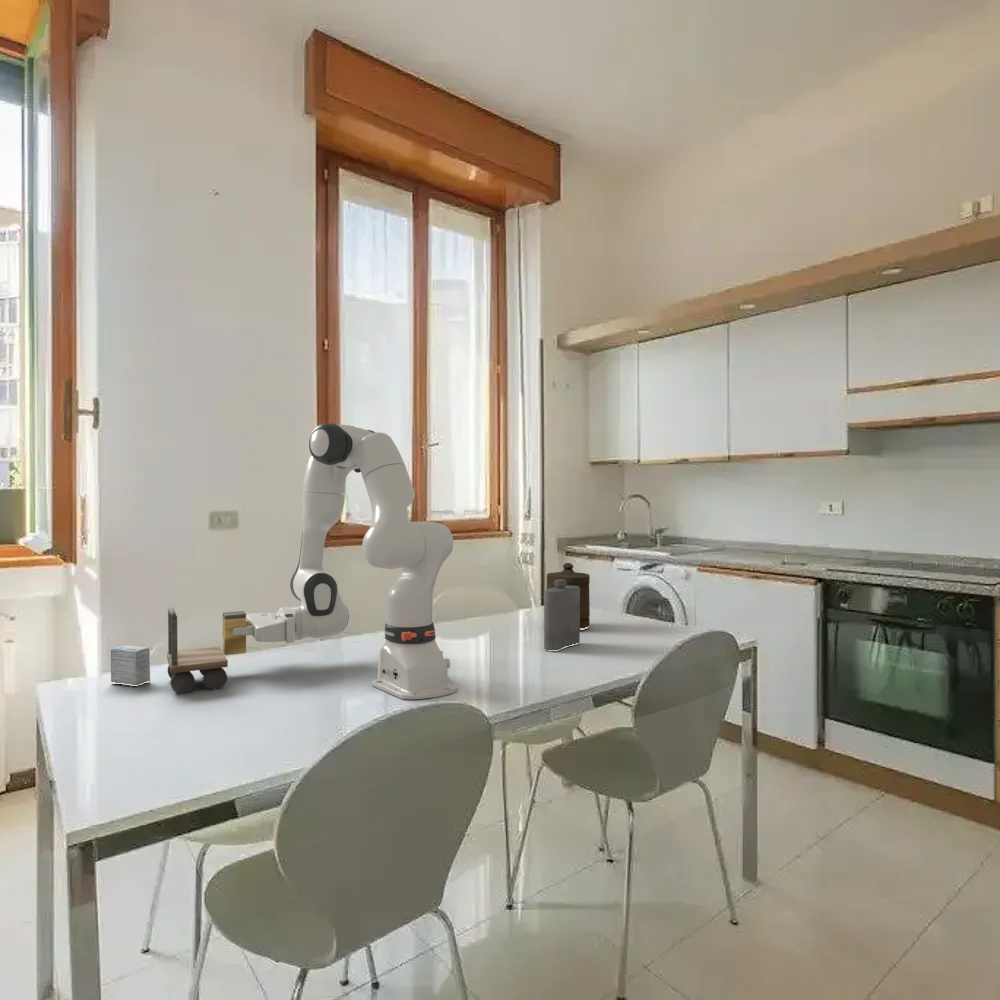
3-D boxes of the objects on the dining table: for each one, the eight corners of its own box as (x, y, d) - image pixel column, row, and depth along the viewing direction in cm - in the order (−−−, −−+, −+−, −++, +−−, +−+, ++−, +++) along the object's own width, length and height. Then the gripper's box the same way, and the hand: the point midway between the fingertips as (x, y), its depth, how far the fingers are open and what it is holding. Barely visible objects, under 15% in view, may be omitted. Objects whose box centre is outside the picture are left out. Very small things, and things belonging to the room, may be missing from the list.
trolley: (227, 689, 162) (227, 612, 162) (171, 696, 157) (170, 616, 156) (219, 673, 176) (219, 602, 176) (167, 679, 171) (166, 606, 170)
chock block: (246, 653, 176) (246, 613, 175) (225, 655, 173) (224, 615, 173) (243, 649, 180) (243, 610, 179) (222, 651, 177) (222, 612, 177)
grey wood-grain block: (150, 682, 168) (150, 647, 168) (135, 687, 163) (135, 651, 163) (125, 679, 170) (125, 644, 170) (110, 684, 166) (109, 648, 166)
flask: (566, 641, 214) (566, 576, 213) (582, 644, 210) (582, 578, 210) (538, 650, 202) (538, 581, 202) (554, 653, 198) (554, 583, 198)
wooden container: (596, 626, 237) (596, 562, 237) (577, 634, 225) (577, 566, 224) (558, 621, 245) (558, 559, 245) (537, 629, 233) (537, 563, 232)
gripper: (278, 605, 192) (225, 610, 185) (294, 618, 174) (236, 623, 167) (278, 628, 192) (225, 633, 185) (294, 643, 174) (236, 649, 167)
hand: (230, 629), depth 176 cm, fingers closed on chock block, 4 cm apart
